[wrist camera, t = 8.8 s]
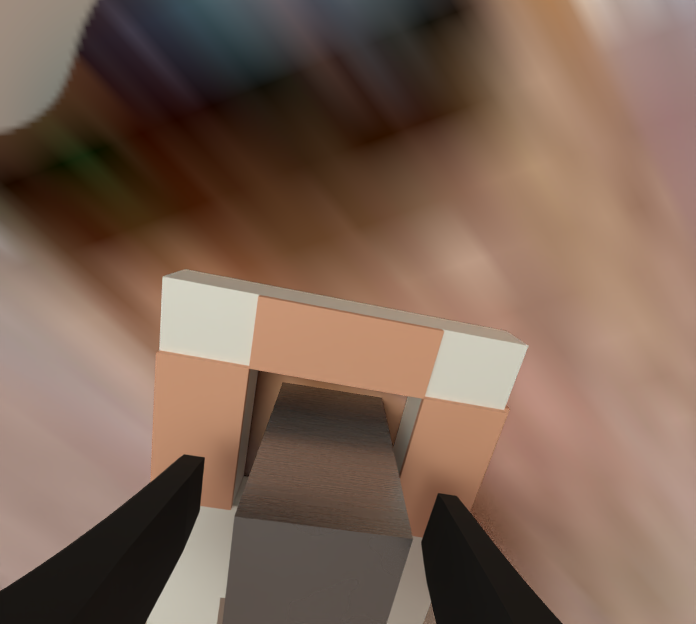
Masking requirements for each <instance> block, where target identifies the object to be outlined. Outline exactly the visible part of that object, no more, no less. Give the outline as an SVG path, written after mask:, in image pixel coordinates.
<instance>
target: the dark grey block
mask: <svg viewBox="0 0 696 624" xmlns="http://www.w3.org/2000/svg"><path fill="white" fill-rule="evenodd" d="M412 541H413V536H412V532H411V527H410V523H409V518H408V514H407V509H406V505H405V500H404V496H403V491H402V487H401V482H400V478H399V473H398V469H397V464H396V460H395V455H394V451H393V446H392V442H391V437H390V433H389V428H388V424H387V419H386V415H385V410H384V406H383V401H382V398H379V397H373V396H367V395H360V394H354V393H347V392H341V391H335V390H328V389H322V388H316V387H309V386H303V385H296V384H290V383H284V382H283V383H282V386H281V389H280V392H279V394H278V397H277V400H276V403H275V405H274V408H273V411H272V414H271V417H270V419H269V422H268V425H267V428H266V430H265V433H264V436H263V439H262V441H261V444H260V447H259V450H258V452H257V455H256V458H255V461H254V464H253V466H252V469H251V472H250V475H249V477H248V480H247V483H246V486H245V488H244V491H243V494H242V497H241V499H240V502H239V505H238V508H237V511H236V513H235V516H234V524H233V533H232V542H231V551H230V560H229V569H228V578H227V587H226V595H225V604H224V613H223V622H222V624H387V621H388V618H389V615H390V611H391V608H392V605H393V602H394V599H395V595H396V592H397V589H398V586H399V582H400V579H401V576H402V573H403V570H404V566H405V563H406V560H407V557H408V554H409V550H410V547H411V544H412Z"/></svg>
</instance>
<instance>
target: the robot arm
mask: <svg viewBox="0 0 696 624" xmlns="http://www.w3.org/2000/svg"><path fill="white" fill-rule="evenodd" d="M204 462H205V457H199V456H193V455H186V454H184V455H182V456H181V457H179V458H178V459H177V460H176V461H175V462H174V463H172V464H171V465H170V466H169V467H168V468H167V469H165V470H164V471H163V472H162V473H161V474H160V475H158V476H157V477H156V478H155V479H154V480H153V481H151V482H150V483H149V484H148V485H147V486H145V487H144V488H143V489H142V490H141V491H139V492H138V493H137V494H136V495H134V496H133V497H132V498H131V499H129V500H128V501H127V502H126V503H124V504H123V505H122V506H121V507H119V508H118V509H117V510H116V511H114V512H113V513H112V514H110V515H109V516H108V517H107V518H105V519H104V520H102V521H101V522H100V523H98V524H97V525H96V526H94V527H93V528H92V529H90V530H89V531H88V532H86V533H85V534H84V535H82V536H81V537H80V538H78V539H77V540H76V541H74V542H73V543H71V544H70V545H69V546H67V547H66V548H64V549H63V550H61V551H60V552H59V553H57V554H56V555H54V556H53V557H51V558H50V559H49V560H47V561H46V562H44V563H43V564H41V565H40V566H38V567H37V568H35V569H34V570H32V571H31V572H29V573H28V574H26V575H25V576H23V577H22V578H20V579H18V580H17V581H15V582H14V583H12V584H11V585H9V586H8V587H6V588H4V589H3V590H1V591H0V624H145V623H146V621H147V619H148V617H149V616H150V614H151V612H152V610H153V608H154V606H155V604H156V602H157V600H158V599H159V597H160V595H161V593H162V591H163V589H164V587H165V585H166V583H167V581H168V580H169V578H170V576H171V574H172V572H173V570H174V568H175V566H176V564H177V562H178V560H179V558H180V557H181V555H182V553H183V551H184V548H185V546H186V544H187V541H188V539H189V537H190V534H191V532H192V529H193V527H194V524H195V522H196V519H197V517H198V514H199V512H200V504H201V493H202V483H203V473H204ZM421 546H422V554H423V562H424V569H425V575H426V582H427V586H428V590H429V595H430V599H431V603H432V607H433V611H434V615H435V619H436V623H437V624H562V623H561V622H560V621H559V619H558V618H557V617H556V616H555V615H554V614H553V613H552V612H551V611H550V610H549V608H548V607H547V606H546V605H545V604H544V603H543V601H542V600H541V599H540V598H539V597H538V596H537V595H536V593H535V592H534V591H533V590H532V589H531V588H530V587H529V585H528V584H527V583H526V582H525V581H524V580H523V578H522V577H521V576H520V575H519V574H518V572H517V571H516V570H515V569H514V568H513V566H512V565H511V564H510V563H509V561H508V560H507V559H506V558H505V556H504V555H503V554H502V553H501V551H500V550H499V549H498V548H497V546H496V545H495V544H494V543H493V541H492V540H491V539H490V538H489V536H488V535H487V534H486V532H485V531H484V530H483V529H482V527H481V526H480V525H479V523H478V522H477V521H476V520H475V518H474V517H473V516H472V514H471V513H470V512H469V510H468V509H467V508H466V507H465V505H464V504H463V503H462V502H461V500H460V499H459V498H458V497H457V496H455V495H448V494H442V493H438V494H437V497H436V500H435V503H434V506H433V509H432V512H431V515H430V518H429V521H428V524H427V526H426V529H425V532H424V535H423V538H422V541H421Z"/></svg>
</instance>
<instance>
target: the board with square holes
mask: <svg viewBox="0 0 696 624" xmlns="http://www.w3.org/2000/svg"><path fill="white" fill-rule="evenodd" d="M527 348H528V345H526V344H525V343H524V342H522V341H521V340H519V339H518V338H516V337H515V336H513V335H512V334H510V333H509V332H507V331H505V330H499V329H494V328H489V327H484V326H479V325H473V324H468V323H463V322H458V321H453V320H447V319H442V318H437V317H432V316H426V315H421V314H416V313H411V312H406V311H400V310H395V309H390V308H385V307H380V306H374V305H369V304H364V303H359V302H354V301H348V300H343V299H338V298H333V297H328V296H322V295H317V294H312V293H307V292H302V291H296V290H291V289H286V288H281V287H275V286H270V285H265V284H260V283H255V282H249V281H244V280H239V279H234V278H229V277H223V276H218V275H213V274H208V273H203V272H197V271H192V270H187V269H184V270H181V271H178V272H175V273H172V274H169V275H166V276H163V282H162V304H161V326H160V348H159V351H158V352H156V365H155V388H154V411H153V435H152V458H151V481H153V480H154V479H155V478H156V477H157V476H158V475H160V474H161V473H162V472H163V471H164V470H165V469H167V468H168V467H169V466H170V465H171V464H172V463H174V462H175V461H176V460H177V459H178V458H179V457H181V456H182V455H184V454H186V455H193V456H199V457H205V462H204V473H203V483H202V493H201V504H200V512H199V514H198V517H197V519H196V522H195V524H194V527H193V529H192V532H191V534H190V537H189V539H188V541H187V544H186V546H185V548H184V551H183V553H182V555H181V557H180V558H179V560H178V562H177V564H176V566H175V568H174V570H173V572H172V574H171V576H170V578H169V580H168V581H167V583H166V585H165V587H164V589H163V591H162V593H161V595H160V597H159V599H158V600H157V602H156V604H155V606H154V608H153V610H152V612H151V614H150V616H149V617H148V619H147V624H222V622H223V613H224V604H225V595H226V587H227V578H228V569H229V560H230V551H231V542H232V533H233V524H234V516H235V513H236V511H237V508H238V505H239V502H240V499H241V497H242V494H243V491H244V488H245V486H246V483H247V480H248V477H246V476H244V470H245V463H246V456H247V449H248V441H249V434H250V427H251V420H252V412H253V405H254V398H255V391H256V383H257V376H258V370H259V371H265V372H271V373H277V374H282V375H288V376H294V377H300V378H306V379H311V380H317V381H323V382H329V383H334V384H340V385H346V386H352V387H358V388H363V389H369V390H375V391H381V392H386V393H392V394H398V395H404V396H408V397H407V401H406V404H405V408H404V411H403V415H402V418H401V422H400V425H399V429H398V433H397V436H396V440H395V443H394V447H393V451H394V455H395V460H396V464H397V469H398V473H399V478H400V482H401V487H402V491H403V496H404V500H405V505H406V509H407V514H408V518H409V523H410V527H411V532H412V536H413V541H412V544H411V547H410V550H409V554H408V557H407V560H406V563H405V566H404V570H403V573H402V576H401V579H400V582H399V586H398V589H397V592H396V595H395V599H394V602H393V605H392V608H391V611H390V615H389V618H388V621H387V624H423V622H424V620H425V617H426V614H427V612H428V609H429V606H430V604H431V599H430V595H429V590H428V586H427V582H426V575H425V569H424V562H423V554H422V546H421V541H422V538H423V535H424V532H425V529H426V526H427V524H428V521H429V518H430V515H431V512H432V509H433V506H434V503H435V500H436V497H437V494H438V493H442V494H448V495H455V496H457V497H458V498H459V499H460V500H461V502H462V503H463V504H464V505H465V507H466V508H467V509H468V510H469V512H470V511H471V509H472V506H473V504H474V501H475V498H476V496H477V493H478V491H479V488H480V485H481V483H482V480H483V477H484V475H485V472H486V470H487V467H488V464H489V462H490V459H491V457H492V454H493V451H494V449H495V446H496V444H497V441H498V438H499V436H500V433H501V431H502V428H503V425H504V423H505V420H506V418H507V415H508V412H509V410H510V409H509V408H508V406H507V405H506V403H507V401H508V398H509V395H510V393H511V390H512V387H513V385H514V382H515V380H516V377H517V374H518V372H519V369H520V366H521V364H522V361H523V358H524V356H525V353H526V351H527ZM151 481H150V482H151Z"/></svg>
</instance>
